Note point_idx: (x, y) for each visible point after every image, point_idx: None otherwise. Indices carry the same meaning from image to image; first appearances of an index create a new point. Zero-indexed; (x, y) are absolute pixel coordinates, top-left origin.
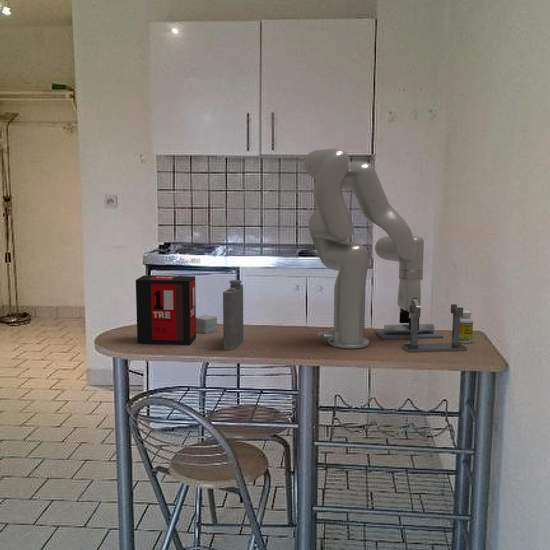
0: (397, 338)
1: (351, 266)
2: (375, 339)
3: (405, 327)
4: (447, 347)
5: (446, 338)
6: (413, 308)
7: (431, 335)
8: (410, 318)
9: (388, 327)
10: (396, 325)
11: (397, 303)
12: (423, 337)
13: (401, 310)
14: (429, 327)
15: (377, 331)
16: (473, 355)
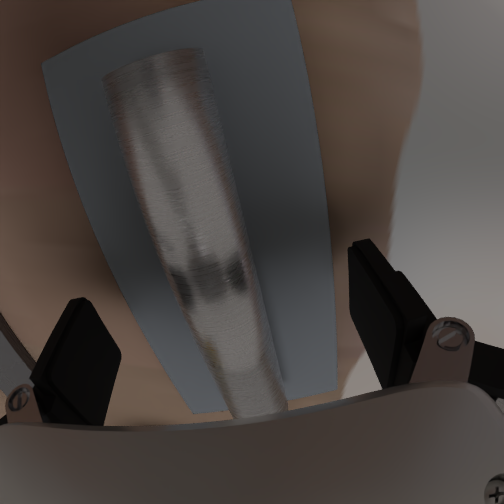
0: (77, 177)
1: None
2: (45, 15)
3: (169, 277)
4: (1, 382)
5: (188, 413)
6: None
7: (190, 380)
8: (36, 382)
9: (109, 102)
10: (157, 197)
11: (477, 397)
12: (152, 341)
13: (422, 343)
14: (228, 408)
15: (261, 3)
16: (4, 410)
